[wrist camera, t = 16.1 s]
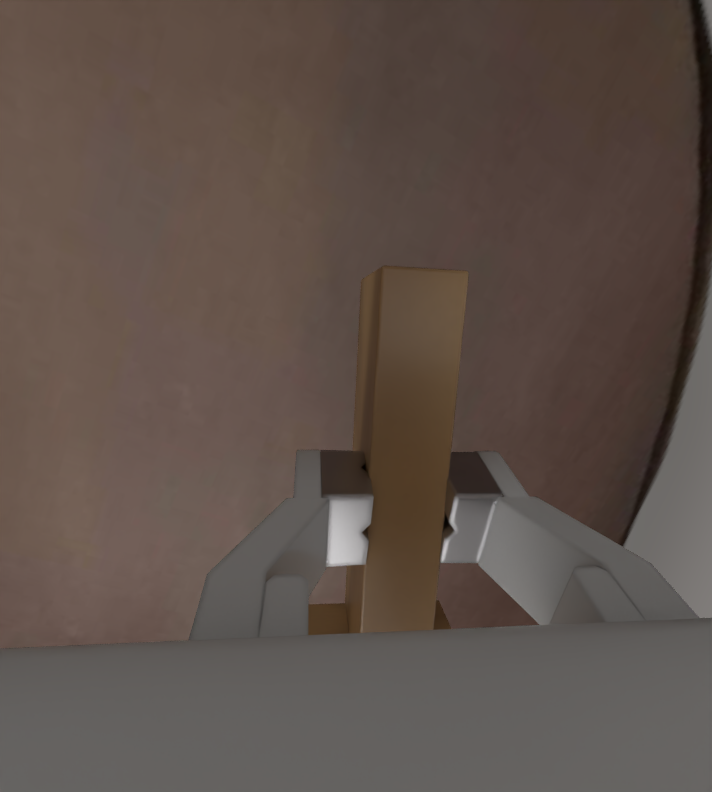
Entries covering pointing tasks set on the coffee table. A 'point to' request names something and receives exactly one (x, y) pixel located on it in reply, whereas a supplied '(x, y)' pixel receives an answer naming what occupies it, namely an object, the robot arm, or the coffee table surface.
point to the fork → (402, 447)
